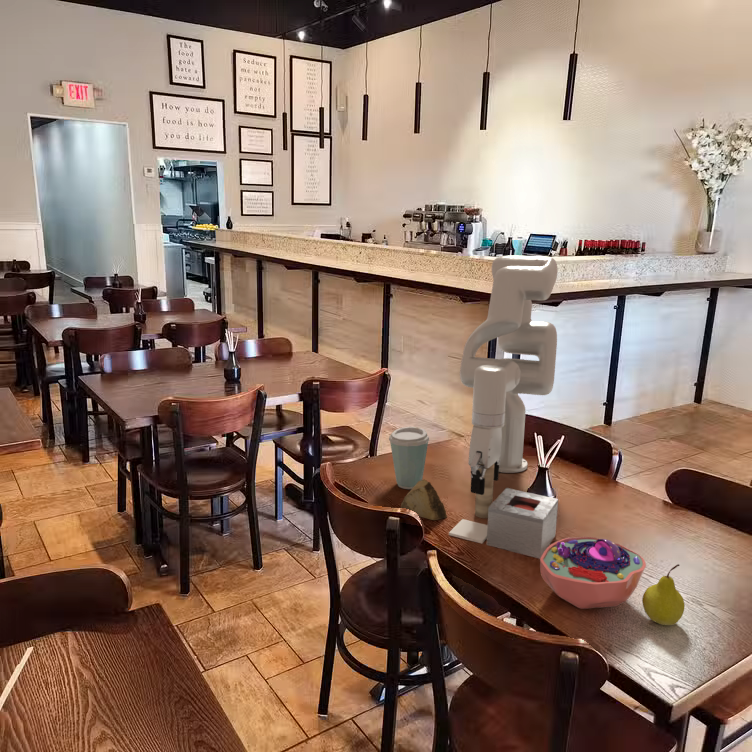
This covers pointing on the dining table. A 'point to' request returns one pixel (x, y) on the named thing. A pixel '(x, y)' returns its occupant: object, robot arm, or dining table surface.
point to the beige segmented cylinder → (485, 494)
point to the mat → (470, 531)
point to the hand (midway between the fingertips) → (484, 486)
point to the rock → (424, 501)
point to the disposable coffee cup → (409, 455)
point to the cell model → (591, 571)
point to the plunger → (524, 507)
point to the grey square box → (522, 522)
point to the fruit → (663, 601)
